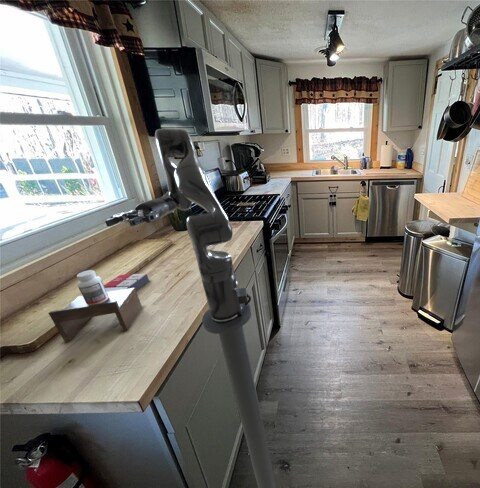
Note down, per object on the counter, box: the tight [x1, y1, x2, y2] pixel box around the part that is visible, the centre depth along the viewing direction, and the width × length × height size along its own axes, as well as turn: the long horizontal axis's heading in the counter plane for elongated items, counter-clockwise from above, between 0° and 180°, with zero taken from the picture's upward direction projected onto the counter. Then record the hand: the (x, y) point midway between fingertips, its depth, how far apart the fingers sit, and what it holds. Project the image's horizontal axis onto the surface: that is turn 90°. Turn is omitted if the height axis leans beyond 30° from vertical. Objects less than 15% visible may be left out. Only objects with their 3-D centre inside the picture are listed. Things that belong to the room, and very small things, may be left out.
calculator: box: [103, 273, 150, 292], centre depth 98 cm, size 11×4×15 cm
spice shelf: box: [48, 288, 143, 343], centre depth 80 cm, size 16×12×10 cm
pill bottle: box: [76, 269, 109, 305], centre depth 77 cm, size 5×5×10 cm
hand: (118, 223), depth 85 cm, fingers open, 8 cm apart
